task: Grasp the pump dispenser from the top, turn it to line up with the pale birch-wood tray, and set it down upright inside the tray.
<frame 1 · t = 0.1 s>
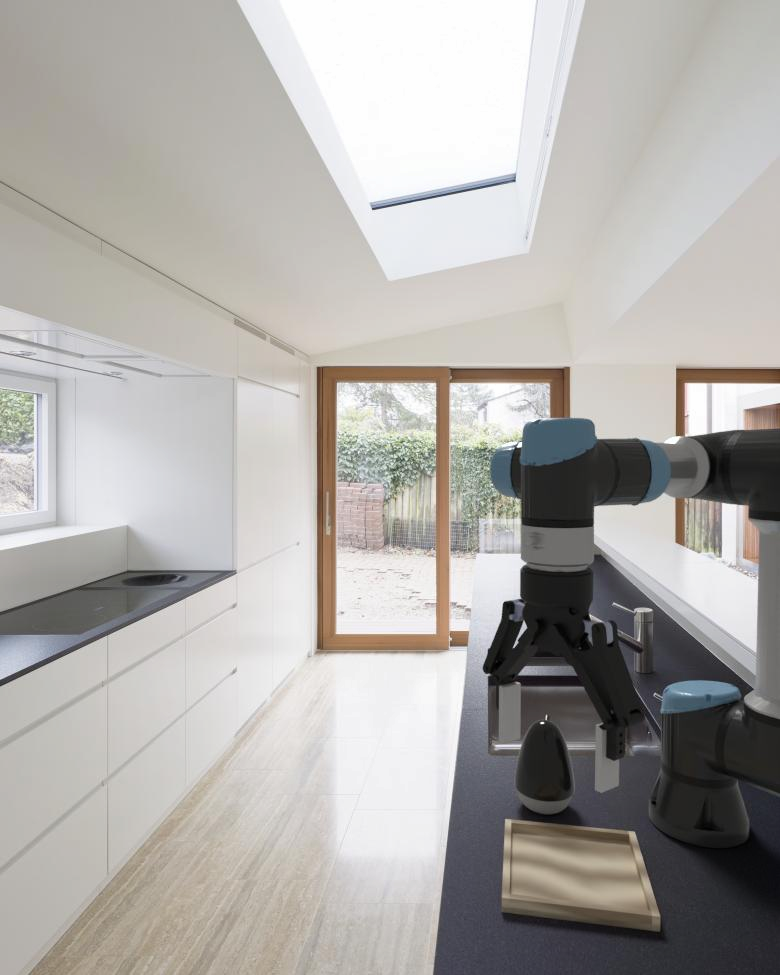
hand: (554, 762, 73), 28 cm above the countertop, tool pointing down, fingers open, 13 cm apart
birch tray: (573, 875, 98), on the countertop
pump dispenser: (544, 807, 118), on the countertop
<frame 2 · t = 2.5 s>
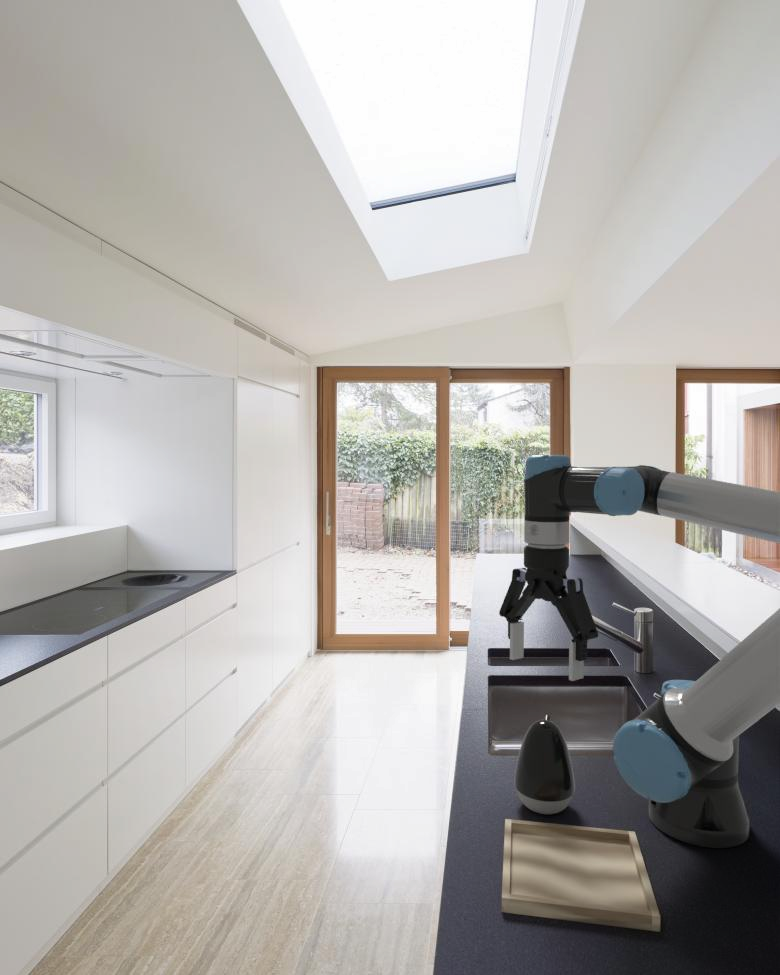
hand: (545, 668, 117), 24 cm above the countertop, tool pointing down, fingers open, 13 cm apart
nothing on the countertop moved.
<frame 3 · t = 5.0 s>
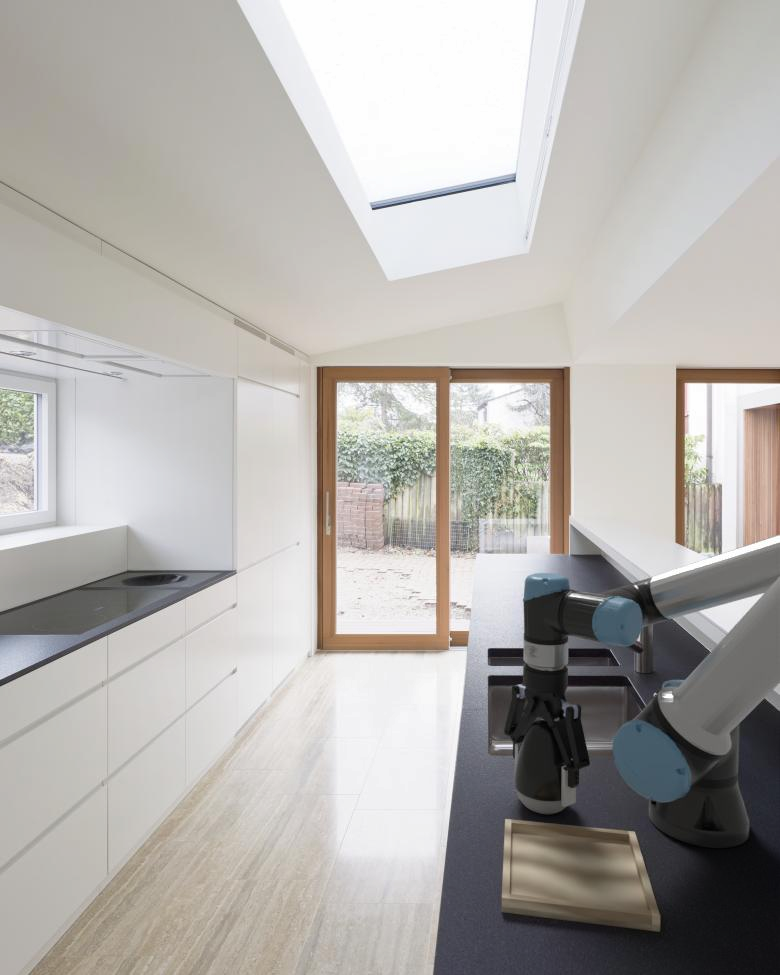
hand: (544, 790, 118), 3 cm above the countertop, tool pointing down, fingers closed on pump dispenser, 10 cm apart
pump dispenser: (543, 807, 118), on the countertop, touching gripper
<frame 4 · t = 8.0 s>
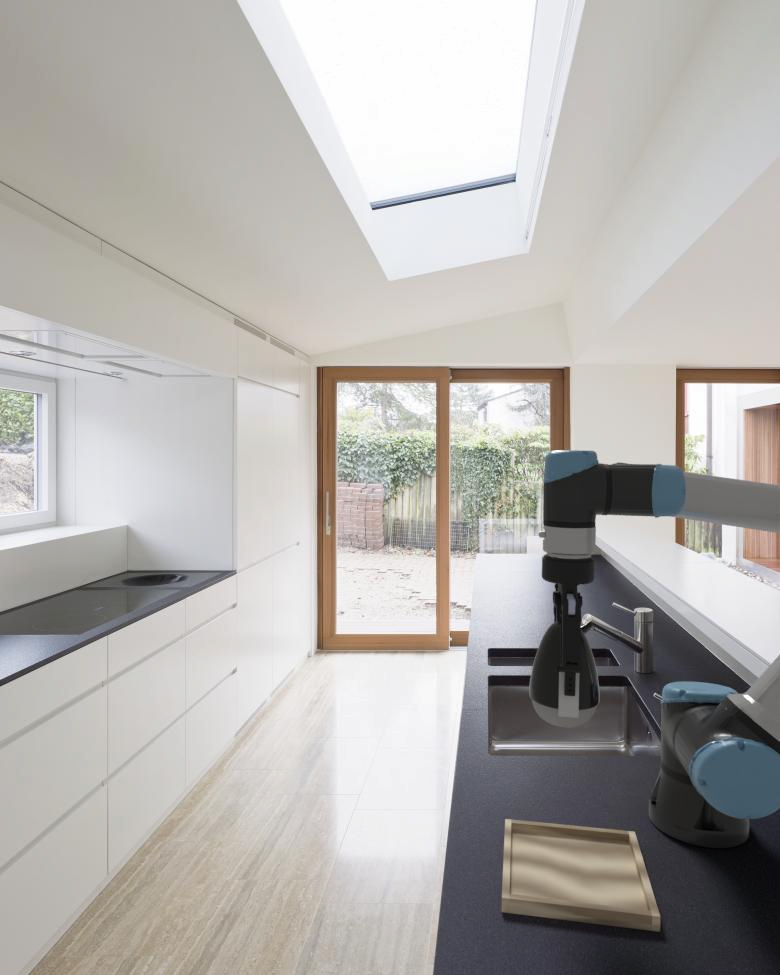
hand: (564, 702, 101), 24 cm above the countertop, tool pointing down, fingers closed on pump dispenser, 10 cm apart
pump dispenser: (563, 721, 102), point 21 cm above the countertop, touching gripper
when the fingers open (5 cm above the countertop, at t = 11.5 s): pump dispenser drops 2 cm, resting on birch tray.
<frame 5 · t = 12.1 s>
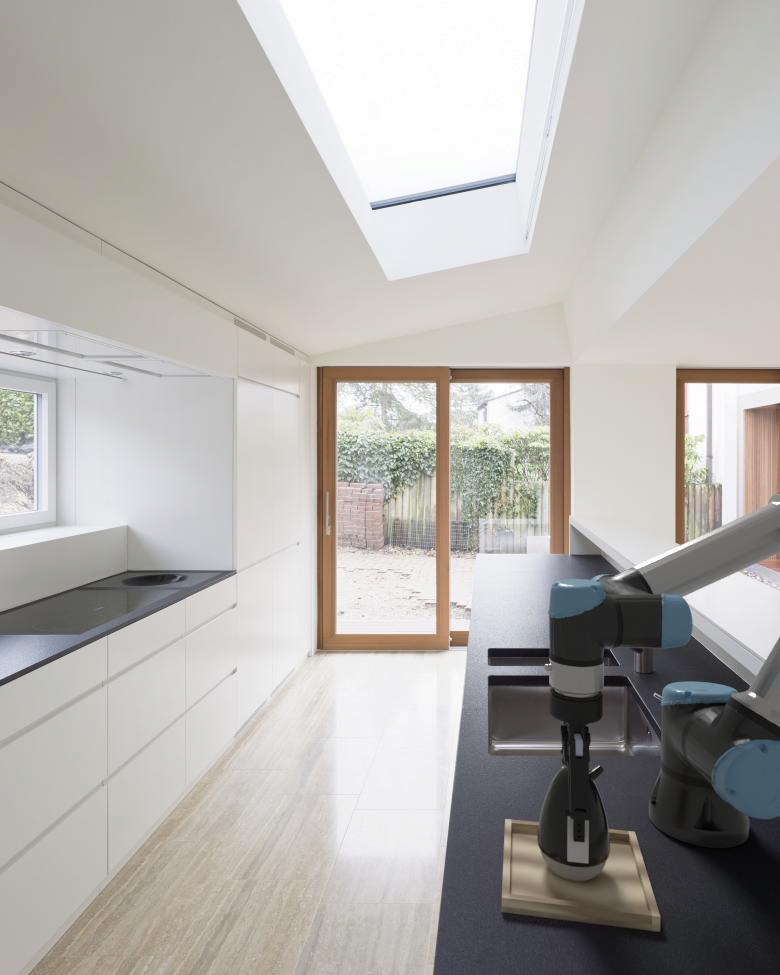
hand: (573, 833, 98), 6 cm above the countertop, tool pointing down, fingers open, 13 cm apart
pump dispenser: (573, 870, 98), point 1 cm above the countertop, touching birch tray
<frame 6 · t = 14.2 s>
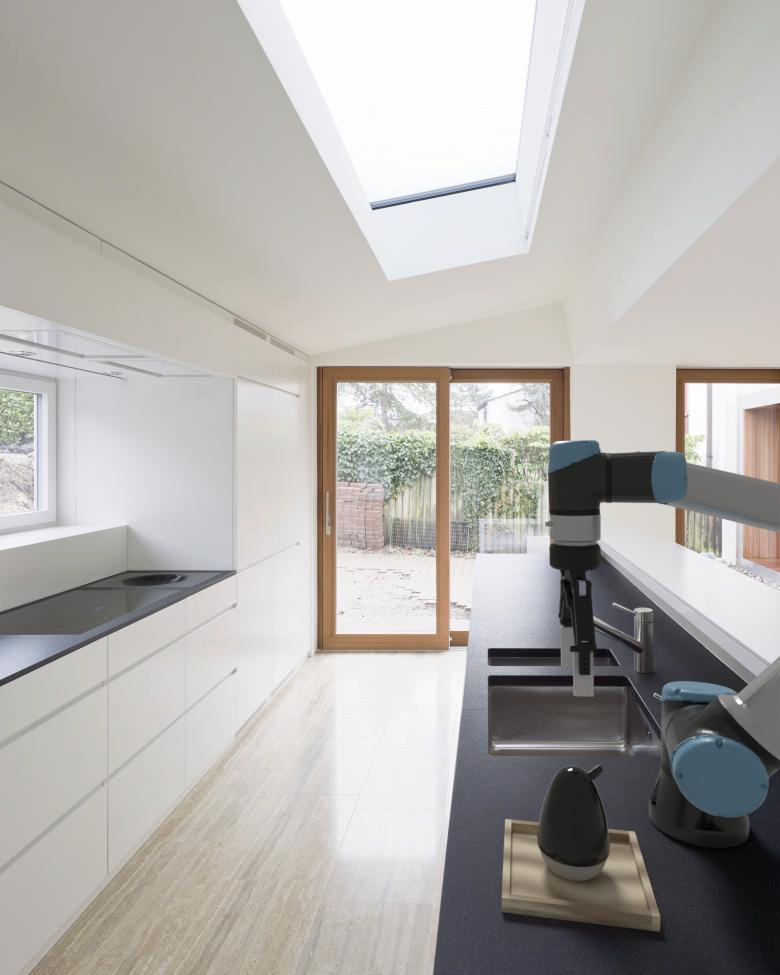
hand: (576, 680, 104), 26 cm above the countertop, tool pointing down, fingers open, 13 cm apart
nothing on the countertop moved.
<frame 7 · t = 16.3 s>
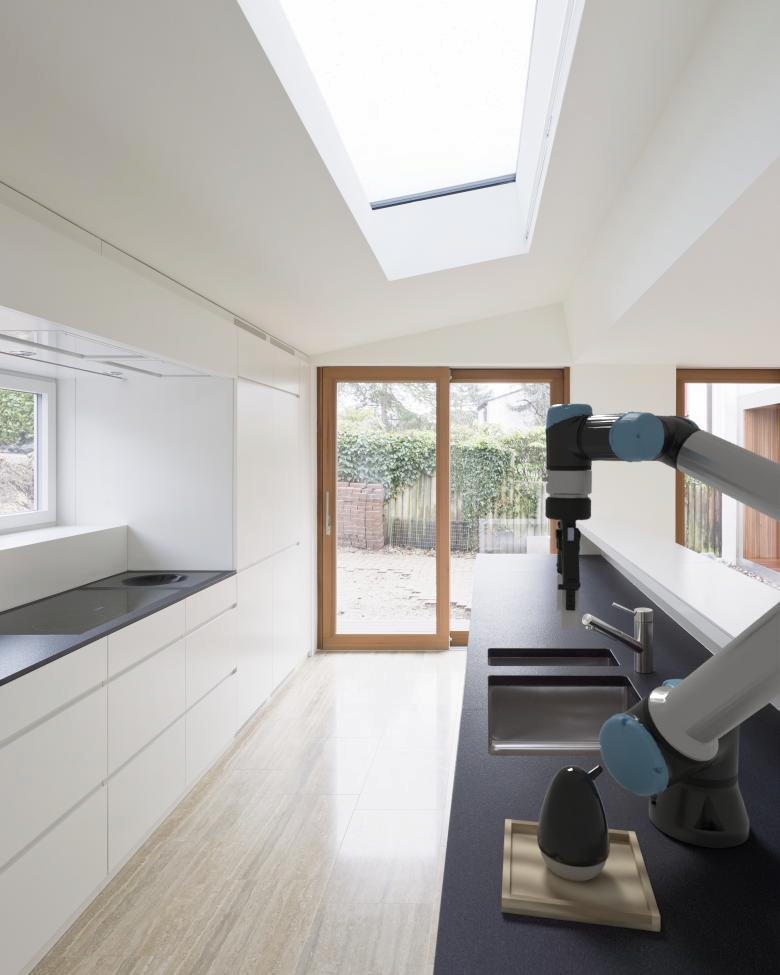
hand: (566, 619, 116), 33 cm above the countertop, tool pointing down, fingers open, 13 cm apart
nothing on the countertop moved.
at the end: pump dispenser inside the target area on the birch tray (0.1 cm from its centre), point 0.6 cm above the birch tray's base; pump dispenser tilted 0°; the gripper is holding nothing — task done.
